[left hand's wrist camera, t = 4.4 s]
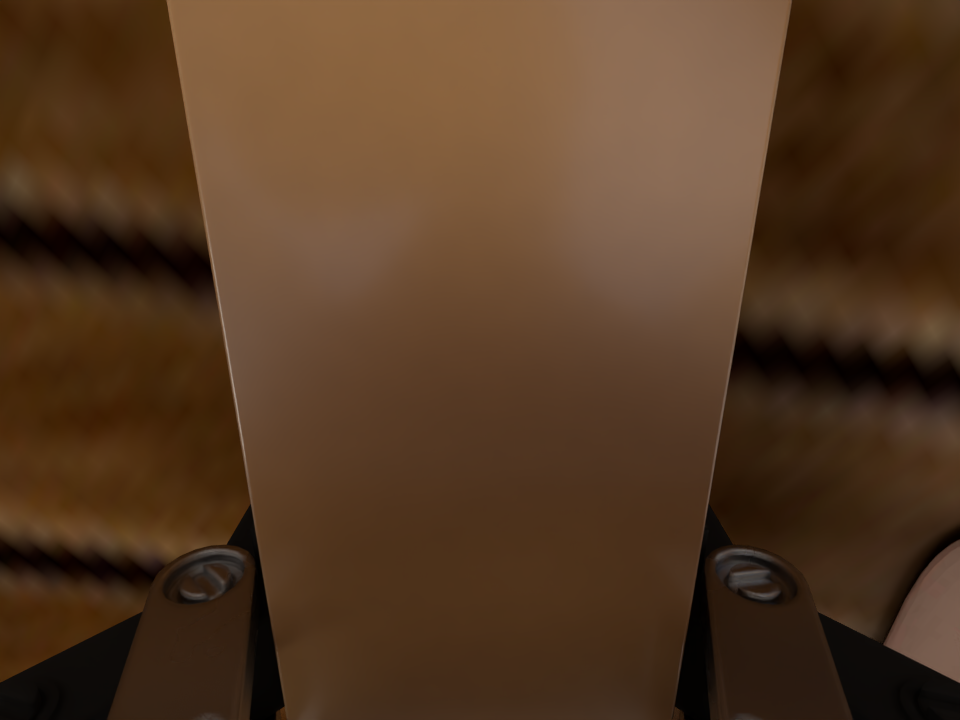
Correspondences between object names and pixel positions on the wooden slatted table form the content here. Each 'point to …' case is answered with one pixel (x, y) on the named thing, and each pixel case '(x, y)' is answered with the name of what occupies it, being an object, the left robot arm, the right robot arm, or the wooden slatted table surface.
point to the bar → (479, 331)
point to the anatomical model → (932, 616)
